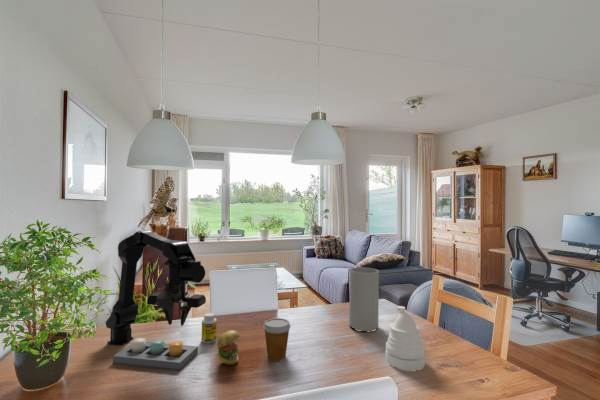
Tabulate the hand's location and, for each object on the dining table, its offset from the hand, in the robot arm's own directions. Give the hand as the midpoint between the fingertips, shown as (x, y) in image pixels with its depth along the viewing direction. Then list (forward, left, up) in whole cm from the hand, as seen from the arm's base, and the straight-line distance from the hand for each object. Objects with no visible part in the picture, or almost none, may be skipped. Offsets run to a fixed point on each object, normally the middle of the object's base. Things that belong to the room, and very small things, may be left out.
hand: (176, 324), depth 109 cm
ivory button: (-14, 0, -10) cm, 17 cm away
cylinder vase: (+64, +43, -12) cm, 78 cm away
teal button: (-7, 0, -10) cm, 12 cm away
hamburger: (+18, +2, -12) cm, 22 cm away
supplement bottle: (+4, +17, -12) cm, 21 cm away
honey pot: (+77, +14, -12) cm, 79 cm away
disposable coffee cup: (+33, +9, -12) cm, 36 cm away
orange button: (0, 0, -10) cm, 10 cm away
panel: (-7, 0, -12) cm, 14 cm away
